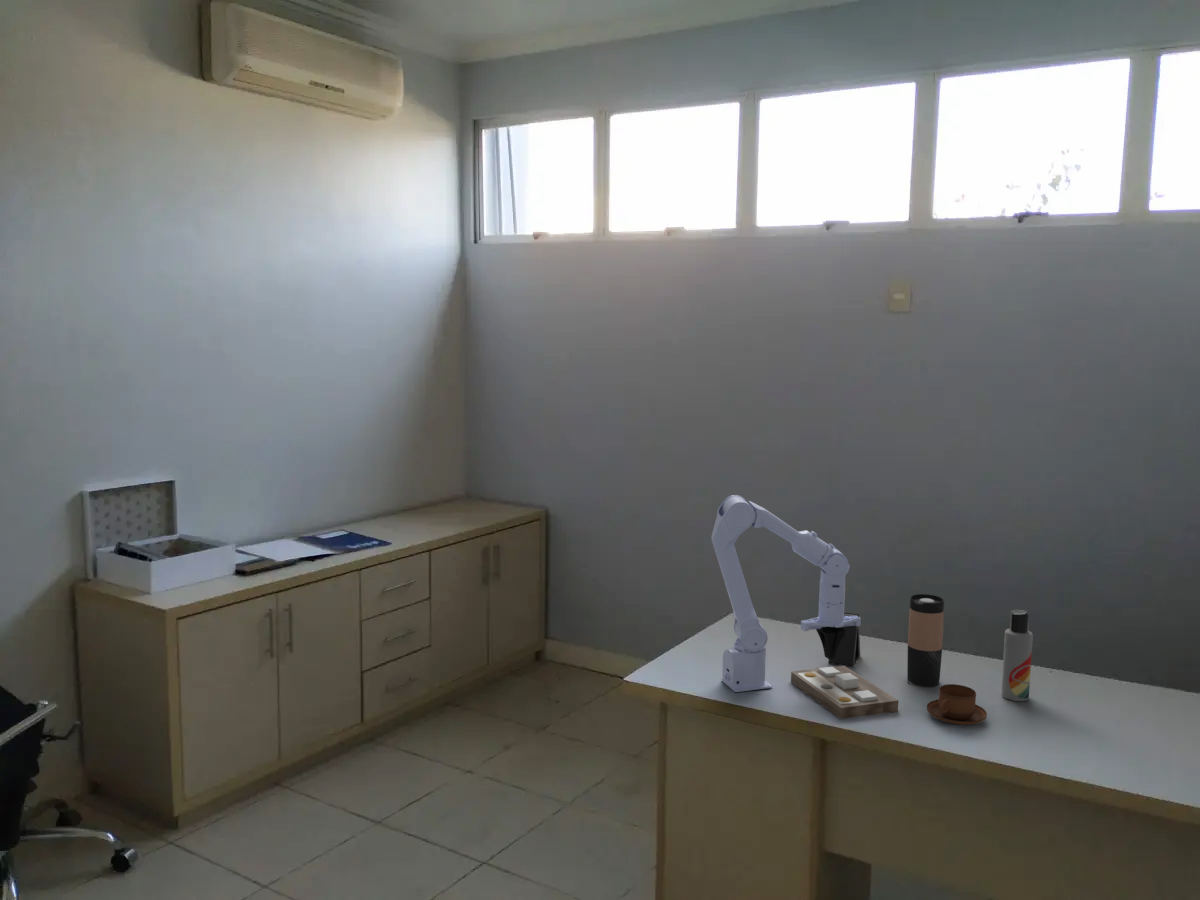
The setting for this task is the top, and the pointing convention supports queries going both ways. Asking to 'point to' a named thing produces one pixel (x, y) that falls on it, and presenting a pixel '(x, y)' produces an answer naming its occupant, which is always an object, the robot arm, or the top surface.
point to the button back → (828, 671)
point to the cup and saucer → (957, 706)
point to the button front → (865, 696)
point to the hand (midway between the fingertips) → (829, 657)
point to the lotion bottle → (1017, 657)
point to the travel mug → (925, 639)
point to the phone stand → (848, 646)
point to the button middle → (846, 681)
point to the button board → (843, 694)
